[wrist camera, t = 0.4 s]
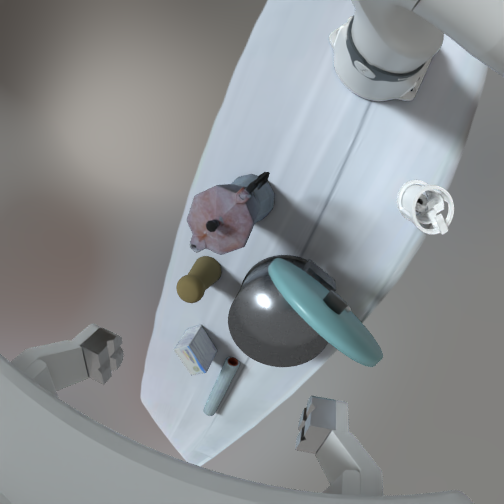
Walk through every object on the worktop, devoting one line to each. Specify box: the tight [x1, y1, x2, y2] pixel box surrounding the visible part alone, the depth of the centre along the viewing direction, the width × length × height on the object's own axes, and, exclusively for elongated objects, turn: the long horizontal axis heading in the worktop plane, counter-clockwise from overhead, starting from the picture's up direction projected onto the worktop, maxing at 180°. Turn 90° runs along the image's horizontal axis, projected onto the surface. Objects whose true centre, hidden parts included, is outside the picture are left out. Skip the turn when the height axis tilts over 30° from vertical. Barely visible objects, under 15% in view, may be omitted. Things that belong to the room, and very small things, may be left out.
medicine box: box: [174, 325, 217, 375], centre depth 64 cm, size 8×4×9 cm, turn 26°
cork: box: [177, 256, 221, 303], centre depth 56 cm, size 6×6×11 cm
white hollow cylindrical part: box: [397, 180, 454, 235], centre depth 42 cm, size 7×7×15 cm
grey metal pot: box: [228, 255, 336, 367], centre depth 55 cm, size 21×19×11 cm
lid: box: [268, 258, 383, 367], centre depth 37 cm, size 19×19×3 cm
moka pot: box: [187, 172, 274, 255], centre depth 45 cm, size 10×15×20 cm, turn 140°
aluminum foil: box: [203, 357, 240, 416], centre depth 71 cm, size 23×7×3 cm, turn 160°
